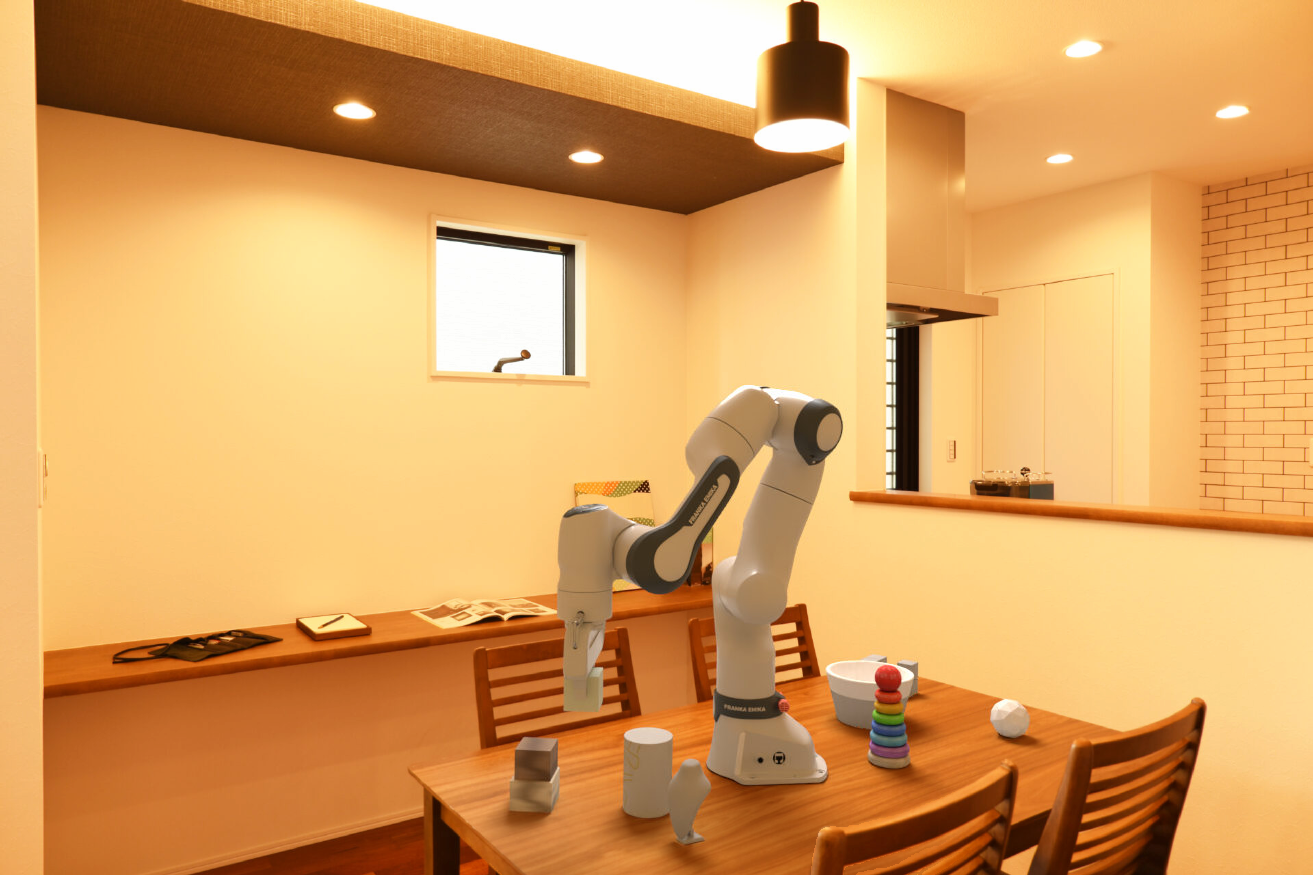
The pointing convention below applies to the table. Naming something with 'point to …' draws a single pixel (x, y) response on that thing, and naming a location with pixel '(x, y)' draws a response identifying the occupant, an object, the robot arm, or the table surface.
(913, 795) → the table surface
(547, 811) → the maple base
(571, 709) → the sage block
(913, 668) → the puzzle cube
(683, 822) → the figurine
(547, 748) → the walnut mid
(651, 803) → the white cylinder
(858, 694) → the bowl
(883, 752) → the stacking toy
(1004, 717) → the geometric ball
